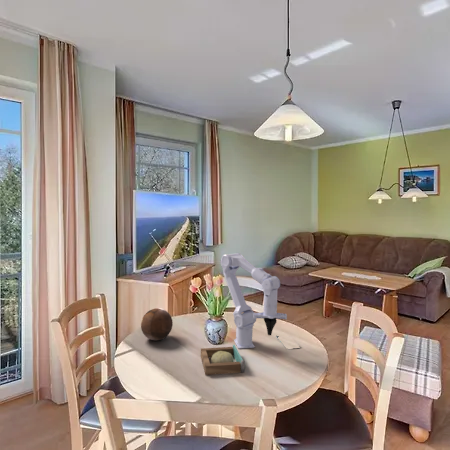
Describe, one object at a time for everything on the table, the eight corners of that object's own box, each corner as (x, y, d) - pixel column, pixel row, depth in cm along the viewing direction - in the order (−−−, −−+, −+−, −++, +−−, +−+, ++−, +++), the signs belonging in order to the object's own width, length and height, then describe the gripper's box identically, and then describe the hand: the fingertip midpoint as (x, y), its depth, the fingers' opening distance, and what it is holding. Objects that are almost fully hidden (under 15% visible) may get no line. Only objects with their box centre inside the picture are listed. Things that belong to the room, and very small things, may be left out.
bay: (200, 356, 143) (200, 348, 143) (232, 354, 146) (232, 346, 146) (205, 375, 128) (205, 366, 127) (240, 372, 130) (240, 363, 130)
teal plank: (244, 372, 130) (244, 361, 130) (241, 372, 130) (241, 362, 130) (234, 353, 146) (235, 344, 146) (231, 353, 146) (232, 344, 146)
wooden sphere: (177, 335, 166) (177, 306, 165) (164, 347, 151) (164, 315, 150) (149, 331, 169) (150, 303, 168) (134, 343, 155) (135, 312, 154)
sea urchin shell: (219, 351, 144) (229, 342, 140) (228, 368, 141) (240, 359, 137) (205, 359, 137) (216, 349, 133) (215, 376, 134) (226, 367, 130)
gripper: (254, 306, 141) (253, 337, 141) (288, 307, 141) (287, 338, 142) (253, 301, 148) (252, 331, 148) (285, 302, 148) (284, 332, 149)
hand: (269, 334), depth 146 cm, fingers closed
